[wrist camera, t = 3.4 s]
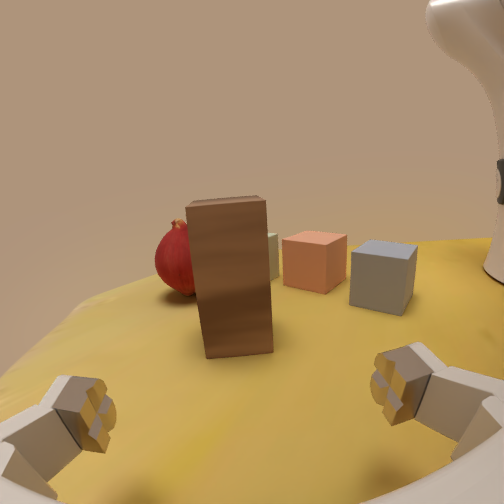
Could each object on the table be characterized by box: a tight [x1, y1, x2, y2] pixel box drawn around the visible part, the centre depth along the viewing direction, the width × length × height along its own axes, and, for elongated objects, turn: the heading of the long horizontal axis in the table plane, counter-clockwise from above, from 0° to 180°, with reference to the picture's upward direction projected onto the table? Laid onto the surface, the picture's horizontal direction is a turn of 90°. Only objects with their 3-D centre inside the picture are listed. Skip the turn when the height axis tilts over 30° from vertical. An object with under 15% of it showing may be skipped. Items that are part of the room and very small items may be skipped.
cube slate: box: [349, 240, 418, 316], centre depth 24 cm, size 5×5×5 cm
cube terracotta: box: [282, 231, 347, 294], centre depth 30 cm, size 5×5×5 cm
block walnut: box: [185, 196, 273, 359], centre depth 19 cm, size 4×4×10 cm
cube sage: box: [268, 233, 279, 281], centre depth 32 cm, size 5×5×5 cm
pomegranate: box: [155, 218, 196, 296], centre depth 28 cm, size 6×6×8 cm
